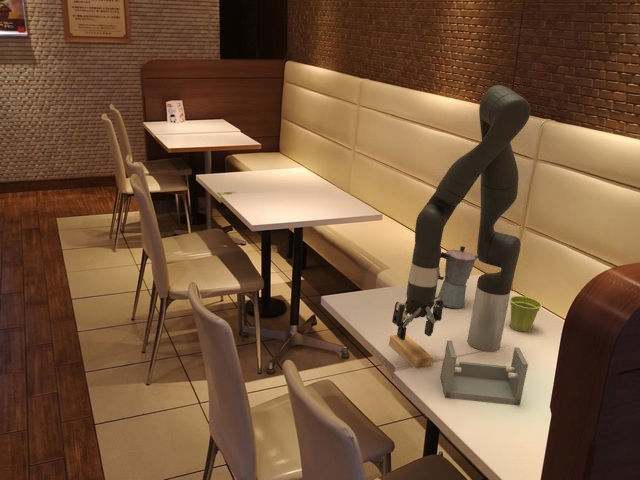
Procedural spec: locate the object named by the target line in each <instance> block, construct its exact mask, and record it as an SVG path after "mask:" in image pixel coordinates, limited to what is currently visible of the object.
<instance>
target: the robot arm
mask: <svg viewBox="0 0 640 480" xmlns="http://www.w3.org/2000/svg"><path fill="white" fill-rule="evenodd" d="M530 105H531V104H530V103H529V102H528V101H527V100H526V98H523V97H522V96H521V95H519V94H518V93H517V92H515V91H514V90H512V89H511V88H510V87H507V86H504V85H500V84H499V85H492V86H491V87H489V88H488V89H487V90H486V91H485V93H483V95H482V97H481V99H480V102H479V109H478V114H479V115H478V116H479V125H480V135H481V137H480V138H481V141H480V142H479V143H477V145H476V146H474V148H472V149H471V150H470V151H468V152H467V153H464V155H462V156H461V157H459V158H458V159H457V160H455V162H453V163H452V164H451V166H450V167H449V168H448V170H447V171H446V173H445V174H444V176H443V177H442V179H441V180H440V181H439V184H438V185H437V187H436V188H435V189H436V190H435V191H434V193H433V194H432V196H431V197H430V199H428V201H427V202H426V204H425V205H424V206H423V208H422V209H421V210H420V211H419V213H418V215H417V216H416V217H417V218H416V221H415V226H414V227H415V228H414V247H413V252H412V258H411V265H410V267H409V273H408V280H407V288H406V301H405V302H399V301H396V302H395V305H394V310H393V316H392V321H391V322H392V323H393V324H394V325H396V326H397V332H396V333H397V334H396V335H397V336H398V338H399V339H401V340H405V335H406V334H407V326H408V325H409V324H410V323H411V322H413V320H414V319H418V318H426V321H425V326H424V335H425V336H427V337H431V336H432V334H433V333H434V327H435V324H436V322H441V321H442V318H443V317H442V316H443V308H444V306H443V301H442V300H441V299H439V298H437V297H438V296H437V294H436V293H437V288H438V283H439V279H438V277H439V273H440V272H439V271H440V270H439V269H440V264H441V263H440V262H441V258H440V257H441V253H442V247H441V244H442V240H443V239H442V237H443V235H444V234H443V233H444V229H445V226H446V224H447V223H448V221H449V220H450V218H451V217H452V215H453V214H454V212H455V210H456V208H457V207H458V205H460V203H462V201H463V200H464V199H465V197H466V196H467V194H468V193H469V191H470V190H471V188H472V187H473V186H474V185H475V183H476V181H477V180H478V178H479V177H480V188H479V189H480V217H479V219H480V220H479V228H478V237H477V246H476V255H477V256H478V258H477V259H478V260H479V262H481V263H484V264H485V265H489V266H493V267H496V268H497V267H498V268H500V271H497V272H492V273H491V272H490V273H488V272H487V273H483V274H481V275H479V276H478V278H477V283H476V287H475V288H476V289H475V294H474V299H473V307H472V311H471V318H470V324H469V329H468V333H467V334H468V335H467V340H466V341H467V343H468V344H469V346H470V347H472V348H474V349H477V350H480V351H484V352H494V351H498V350H499V349H500V348H501V342H502V338H503V333H504V328H505V322H506V317H507V312H508V307H509V302H510V298H511V296H510V295H511V291H512V286H513V282H514V277H515V273H516V269H517V264H518V260H519V257H520V252H521V247H522V246H521V245H522V244H521V240H520V238H519V237H518V236H515V235H510V234H507V233H503V232H498V231H495V224H496V223H497V222H498V220H499V219H500V218H501V217H502V216H503V215H504V214H505V213H506V212H507V211H508V210H509V208H511V207H512V206H513V204H514V203H516V200H517V197H518V192H519V191H518V190H519V168H518V164H517V161H516V158H515V154H514V150H513V148H512V143H511V141H513V140H514V139H515V137H517V135H518V134H519V133H520V132H521V131H522V130H523V129H524V127H525V126H526V124H527V123H528V121H529V120H530V116H531V106H530ZM436 296H437V297H436ZM408 315H409V316H408Z"/></svg>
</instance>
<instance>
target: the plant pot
mask: <svg viewBox="0 0 640 480" xmlns="http://www.w3.org/2000/svg"><path fill="white" fill-rule="evenodd" d="M509 302H510V327H511V328H512V329H514V330H516V331H518V332H530V331H531V330H532V327H533V324H534V322H535V319H536V316H537V314H538V312H539V311H540V309H542V306H543V305H542V303H541V302H540V301H539V300H537V299H535V298H532V297H529V296H525V295H513V296H510V297H509Z"/></svg>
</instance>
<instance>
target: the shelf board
mask: <svg viewBox="0 0 640 480" xmlns="http://www.w3.org/2000/svg"><path fill="white" fill-rule="evenodd" d="M388 345H390V346H391V348H393V349H394V350H395V351H396V352H397V353H398V354H399V355H400V356H401V357H402V358H404V359H405V360H406V361H407V362H408V363H409V364H410V365H411V366H412V367H413V368H414V369H420V368H422V369H423V368H426V367H427V368H428V367H432V365H433V359H434V357H433V356H432V355H431V354H430V353H429V352H427V350H425V348H423V347H422V346H421V345H420V344H419V343H417V342H416V341H415V340H414V339H413V338H411V336H410V335H408V334H407V333H406V335H405V340H401V339H399V338H398V336H397V334H391V335H389V342H388Z"/></svg>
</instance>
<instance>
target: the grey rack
mask: <svg viewBox="0 0 640 480" xmlns="http://www.w3.org/2000/svg"><path fill="white" fill-rule="evenodd" d="M457 359H458V357H457V353H456V350H455V348H454V343H453V340H446V345H445V350H444V356H443V359H442V364H441V372H440V375H439V376H440V377H439V378H440V381H441V386H442V391H443V395H444V398H449V399H460V400H469V401H479V402H485V403H486V402H489V403H496V404H498V403H499V404H506V405H515V406H516V405H517V406H520V404H521V402H522V401H521V400H522V395H523V392H524V391H523V390H524V387H525V382H526V377H527V373H528V367H529V363H528V362H527V360H526V358H525V356H524V354H523V352H522V350H521V348H520V347H514V350H513V355H512V360H511V364H510V366H508V365H498V364H488V363H478V362H470V361H469V362H468V361H460V360H457Z"/></svg>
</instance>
